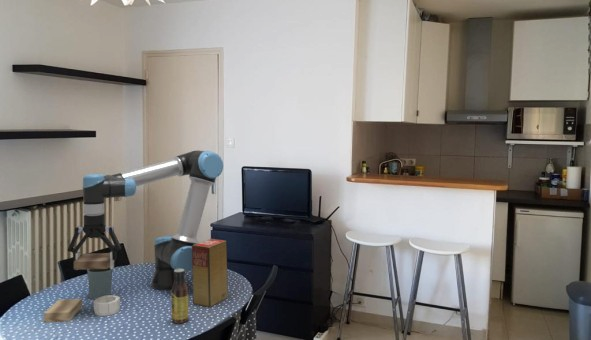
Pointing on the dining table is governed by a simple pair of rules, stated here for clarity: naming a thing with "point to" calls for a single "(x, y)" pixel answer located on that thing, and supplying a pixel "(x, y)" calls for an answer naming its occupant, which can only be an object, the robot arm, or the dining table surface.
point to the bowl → (106, 305)
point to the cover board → (92, 261)
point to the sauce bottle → (179, 297)
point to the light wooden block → (63, 310)
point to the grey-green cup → (99, 282)
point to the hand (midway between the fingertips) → (95, 268)
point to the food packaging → (209, 272)
